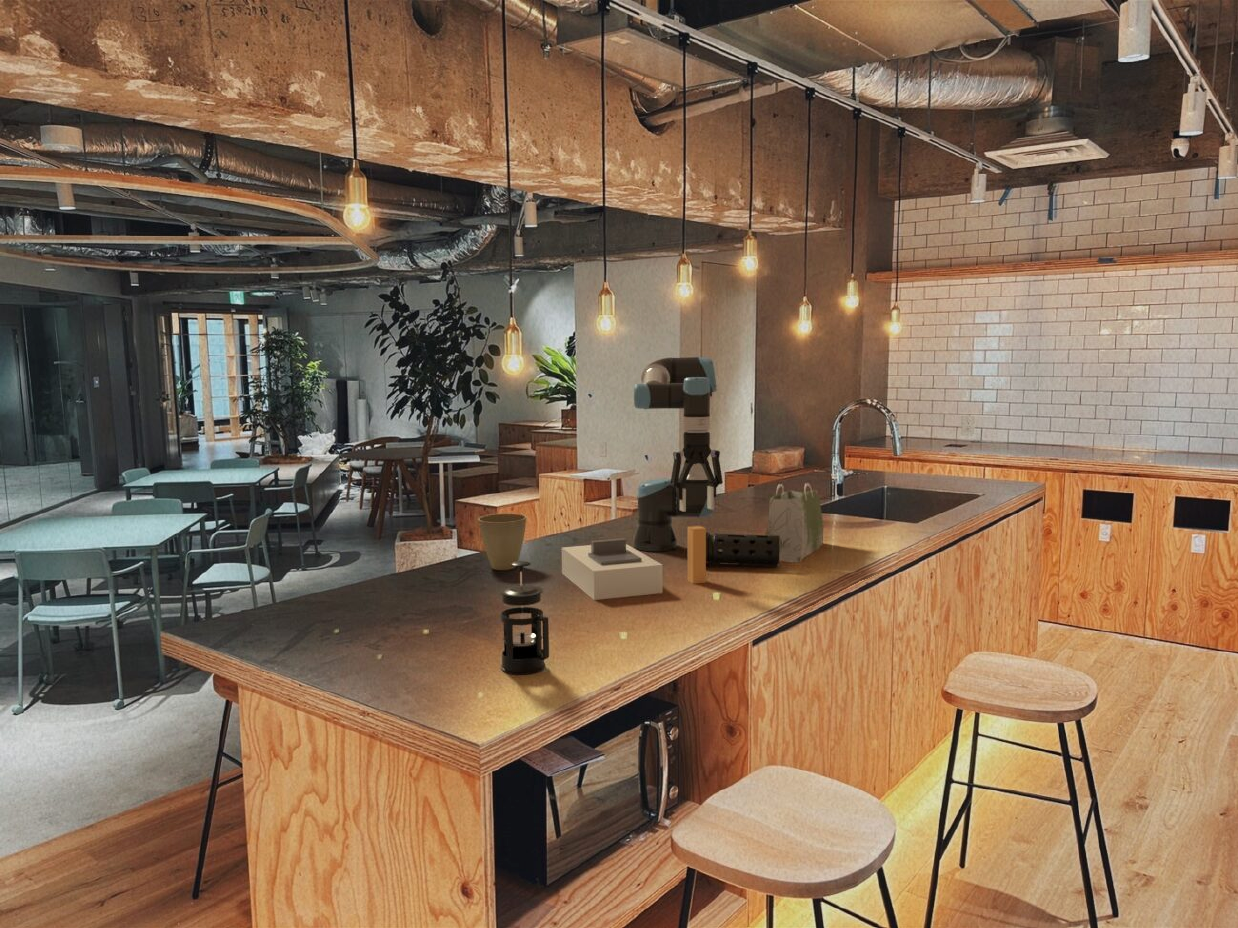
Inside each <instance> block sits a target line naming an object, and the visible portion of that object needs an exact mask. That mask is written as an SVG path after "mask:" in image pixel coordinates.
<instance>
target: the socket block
mask: <svg viewBox="0 0 1238 928" xmlns="http://www.w3.org/2000/svg"><path fill="white" fill-rule="evenodd" d="M626 550H628V551H630V552H632V553H633V554H635V555H637V556H639V557H640V558H641V561H636V562H626V563H615V564H604V565H601V564H599V563H598V562H596V561H595V560H594V559H592V558H591V557H589V556H588V553H591V544H588V545H576V546H565V547H561V573H562V575H564V577H566V578H567V579H568V580H570V582H572V583H573V584H574V585H575V586H576V587H577V588H579V589H580V590H581V591H582V592H584V593H585V594H586V595H587V596H589V597H590V598H591V599H592V600H593V601H597V600H608V599H618V598H626V597H637V596H645V595H654V594H656V595H657V594H663V591H664V590H663V564H662V563H660V562H659V561H657V560H656V559H653V558H651V557H650V556H648V555H646V554H644V553H643V552H641V551H640V550H638V549H635V548H633V546H631V545H629V544H627V543H626Z"/></svg>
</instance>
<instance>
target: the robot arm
mask: <svg viewBox="0 0 1238 928" xmlns="http://www.w3.org/2000/svg"><path fill="white" fill-rule="evenodd" d="M713 362H714V361H713V360H712V359H711V358H710V357H702V356H701V357H700V356H696V357H695V356H691V357H664V358H659V359H658V360H655V361H653V362H651V363H649V364H648V365H647V366H645V368H644V369H643V370H642V373H641V376H640V377H641V378H640V380H641V383H636V384H634V387H633V405H634V407H635V408H636V409H638V410H639V409H642V410H650V409H651V410H653V409H656V410H657V409H659V410H660V409H671V410H672V409H678V410H679V409H682V418H681V419H682V431H681V432H682V433H681V434H682V437H681V438H682V439H681V440H682V450H681V451H678V452H677V451H674V452H673V454H672V455H673V465H672V471H671V478H668V477H667V478H654V479H649V480H645V481H642V482H641V483H639V484H638V487H637V526H636V530H635V533H634V536H633V540H632V548H634V549H636V550H638V551H643V552H644V551H645V552H666V551H671V550H672V551H673V550H675V549H676V548H677V547H678V540H677V537H676V533H675V530H674V528H673V520H672V519H673V518H699V519H700V518H707V517H710V516H712V515H713V512H714V509H715V503H716V502H715V501H716V497H717V488H718V487H719V485H722V484H723V482H724V481H723V475H722V470H721V462H720V454H721V451H720V450H717V449H714V450H713V449H711V448H710V445H711V439H710V438H711V437H710V436H711V433H710V431H709V430H710V429H711V416H710V415H711V414H710V411H711V410H710V409H711V408H710V407H711V406H710V405H711V399H712V398H713V393H715V392H717V390H718V389H717V379H716V378H717V377H716V373H715V371H716V370H715V366H714V363H713ZM709 456H710V457H711V464H712V469H713V471H712V469H711V466H710V462H709V460H708V459H709ZM681 466H682V470H681Z"/></svg>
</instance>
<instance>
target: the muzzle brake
mask: <svg viewBox="0 0 1238 928" xmlns="http://www.w3.org/2000/svg"><path fill="white" fill-rule="evenodd" d="M779 549H780V537H779V535H766V534H764V535H763V534H738V533H737V534H730V533H714V534H711V533H710V532H707V531H706V564H707V563H708V566H720V565H721V564H733V565H735V564H736V565H737V566H739V567H740V566H747V567H767V568H768V567H769V568H778V566H779V565H780V561H779Z"/></svg>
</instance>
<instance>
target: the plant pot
mask: <svg viewBox="0 0 1238 928" xmlns="http://www.w3.org/2000/svg"><path fill="white" fill-rule="evenodd" d="M477 521H478V524H479V525H478V527H479V530H480V535H481V536H480V537H481V539H482V543H483V547H484V550H485V553H486V555H487V558H488V561H489V563H490V565H491V568H492V569H493V570H497V571H508V570H513V569H515V568H516V566H512V565H511V563H513V562H517V561H519V559H520V555H521V551H522V548H523V543H524V537H525V532H526V524H527V516H526V515H525V514H521V513H506V512H505V513H493V514H487V515H483V516H479V517H478V518H477Z"/></svg>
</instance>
